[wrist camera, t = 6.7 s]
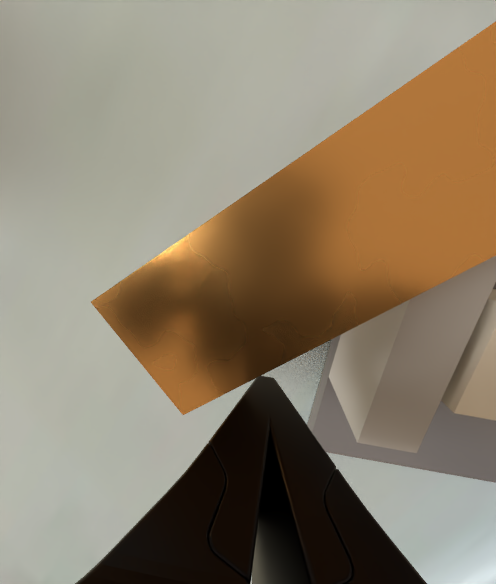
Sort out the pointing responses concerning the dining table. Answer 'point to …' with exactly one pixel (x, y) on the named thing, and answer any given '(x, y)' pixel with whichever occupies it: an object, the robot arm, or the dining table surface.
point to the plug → (476, 370)
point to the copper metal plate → (324, 238)
